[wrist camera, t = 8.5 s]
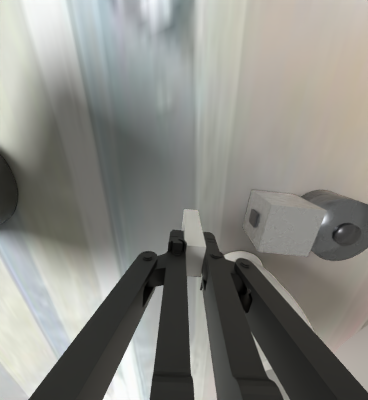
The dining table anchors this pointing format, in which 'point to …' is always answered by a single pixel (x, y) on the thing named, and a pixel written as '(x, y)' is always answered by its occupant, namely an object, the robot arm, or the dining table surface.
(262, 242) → the grey cube
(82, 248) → the dining table surface
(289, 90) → the dining table surface
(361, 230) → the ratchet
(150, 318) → the dining table surface
